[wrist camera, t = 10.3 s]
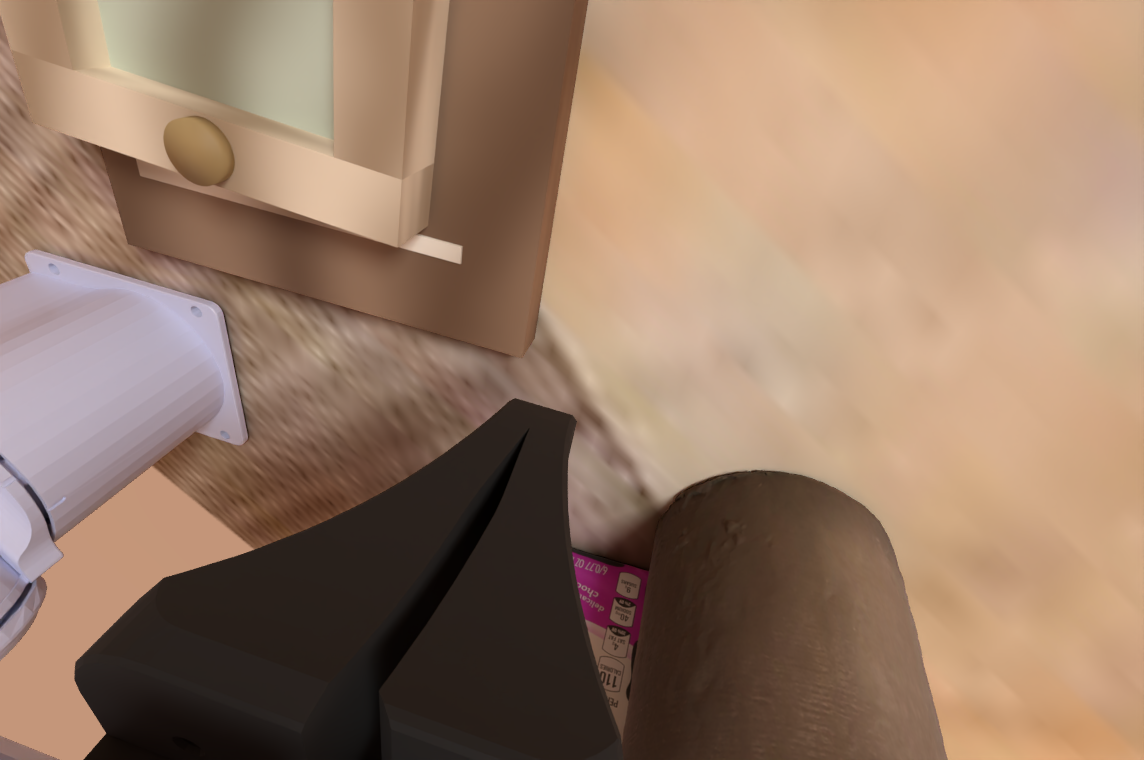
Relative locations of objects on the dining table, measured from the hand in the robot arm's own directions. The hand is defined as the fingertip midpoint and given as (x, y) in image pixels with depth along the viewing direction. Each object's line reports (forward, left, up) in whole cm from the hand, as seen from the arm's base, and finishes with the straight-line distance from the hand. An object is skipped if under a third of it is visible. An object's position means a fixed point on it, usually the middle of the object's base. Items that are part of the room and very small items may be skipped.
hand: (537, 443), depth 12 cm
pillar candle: (+9, -11, -10) cm, 17 cm away
